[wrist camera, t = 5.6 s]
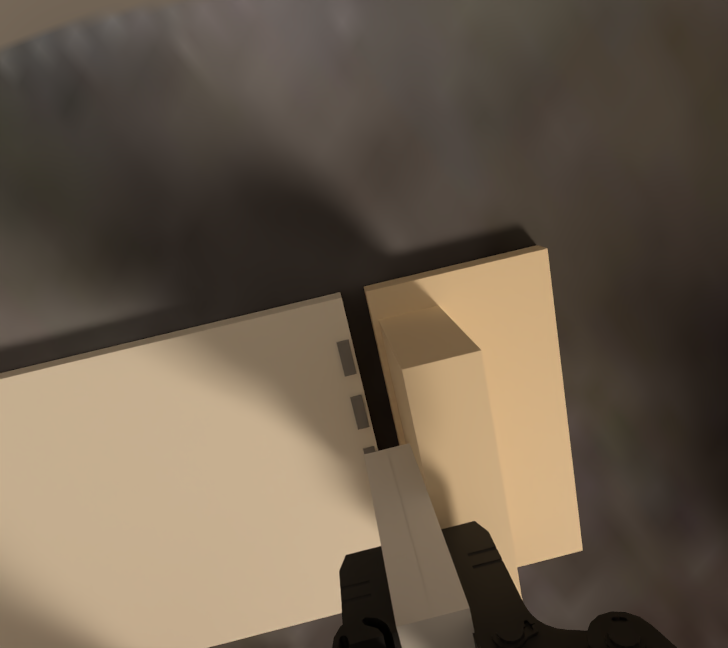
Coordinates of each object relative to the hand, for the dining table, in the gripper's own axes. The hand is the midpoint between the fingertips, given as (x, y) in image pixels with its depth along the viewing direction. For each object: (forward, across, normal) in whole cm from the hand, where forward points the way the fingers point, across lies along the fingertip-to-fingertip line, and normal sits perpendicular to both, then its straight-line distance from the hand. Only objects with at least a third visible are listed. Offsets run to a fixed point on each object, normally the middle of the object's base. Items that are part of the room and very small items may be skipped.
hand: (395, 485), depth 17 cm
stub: (+3, +4, 0) cm, 4 cm away
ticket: (+3, -9, 0) cm, 10 cm away
